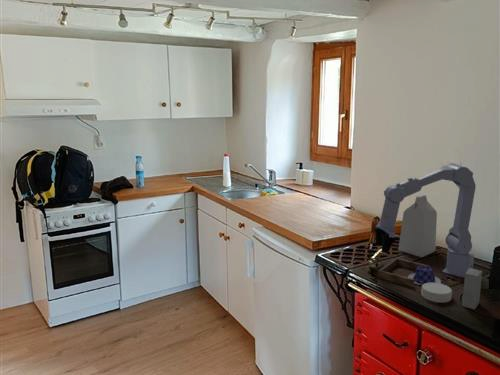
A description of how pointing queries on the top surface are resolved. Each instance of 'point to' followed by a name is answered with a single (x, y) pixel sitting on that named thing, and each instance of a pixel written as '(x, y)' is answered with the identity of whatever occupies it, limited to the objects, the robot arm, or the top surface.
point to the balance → (376, 261)
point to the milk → (418, 228)
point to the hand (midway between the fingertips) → (381, 248)
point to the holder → (399, 279)
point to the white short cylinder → (436, 292)
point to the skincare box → (472, 288)
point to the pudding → (424, 275)
